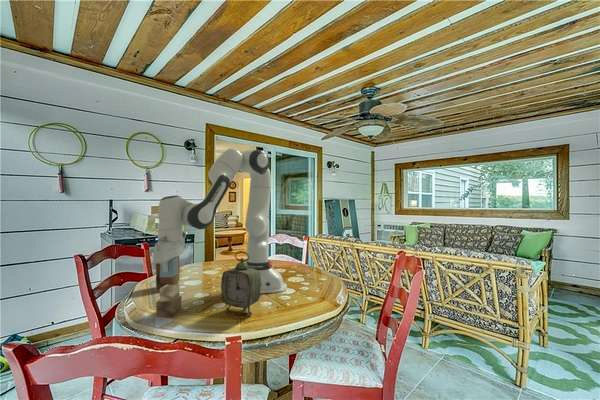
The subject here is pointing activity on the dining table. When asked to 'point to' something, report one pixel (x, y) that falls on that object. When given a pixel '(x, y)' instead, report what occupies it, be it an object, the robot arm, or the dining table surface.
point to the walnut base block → (168, 308)
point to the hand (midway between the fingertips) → (169, 269)
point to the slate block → (170, 268)
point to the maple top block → (169, 293)
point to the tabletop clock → (241, 285)
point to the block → (166, 280)
